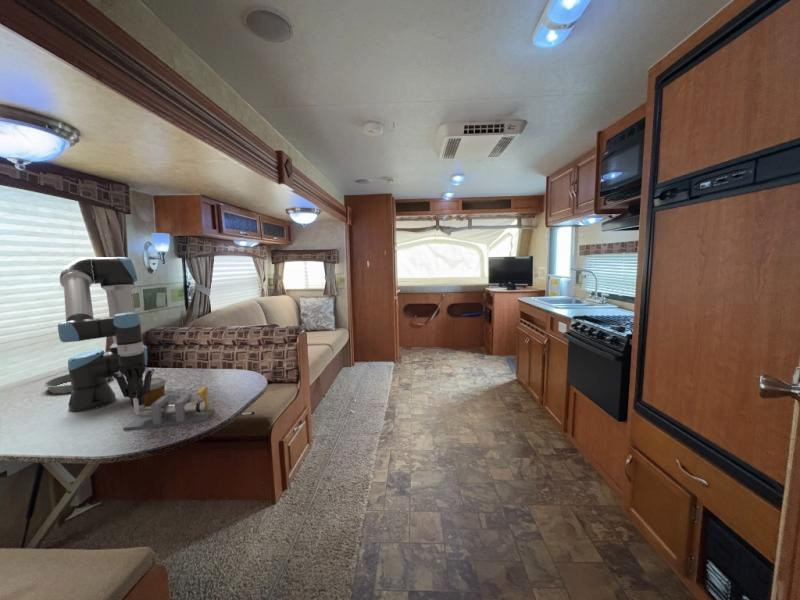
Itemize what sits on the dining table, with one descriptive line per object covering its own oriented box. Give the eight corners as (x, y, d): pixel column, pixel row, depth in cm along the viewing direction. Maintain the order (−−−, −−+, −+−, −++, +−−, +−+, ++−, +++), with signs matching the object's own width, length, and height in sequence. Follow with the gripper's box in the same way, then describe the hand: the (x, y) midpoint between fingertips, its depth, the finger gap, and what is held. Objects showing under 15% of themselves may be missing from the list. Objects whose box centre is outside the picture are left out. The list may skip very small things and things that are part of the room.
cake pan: (101, 389, 160) (100, 380, 160) (33, 399, 150) (31, 390, 150) (119, 373, 183) (118, 366, 182) (61, 381, 172) (60, 373, 172)
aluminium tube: (139, 420, 123) (137, 409, 123) (145, 415, 127) (144, 405, 127) (202, 413, 128) (201, 403, 127) (206, 408, 132) (205, 399, 131)
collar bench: (123, 430, 120) (119, 402, 119) (137, 418, 129) (134, 392, 128) (205, 421, 126) (203, 394, 124) (214, 410, 135) (211, 385, 133)
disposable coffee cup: (152, 403, 143) (149, 377, 141) (173, 403, 142) (170, 377, 141) (134, 414, 133) (130, 386, 132) (157, 413, 133) (153, 386, 131)
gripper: (104, 358, 117) (113, 419, 120) (145, 355, 119) (152, 415, 122) (118, 352, 124) (126, 410, 127) (156, 349, 127) (163, 406, 130)
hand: (139, 412), depth 125 cm, fingers closed
